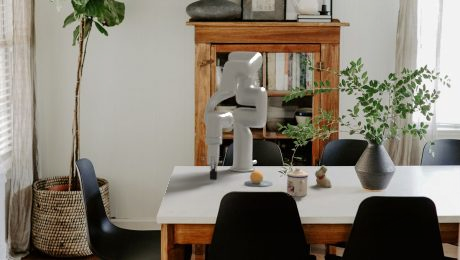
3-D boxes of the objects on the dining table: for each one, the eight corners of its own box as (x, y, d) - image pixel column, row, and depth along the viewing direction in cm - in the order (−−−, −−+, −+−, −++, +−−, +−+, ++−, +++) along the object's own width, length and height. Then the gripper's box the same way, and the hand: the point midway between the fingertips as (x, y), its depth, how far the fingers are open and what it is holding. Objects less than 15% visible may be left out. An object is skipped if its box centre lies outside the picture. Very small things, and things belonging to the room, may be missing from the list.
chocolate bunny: (324, 183, 322) (324, 162, 320) (332, 187, 314) (333, 165, 313) (313, 184, 320) (314, 163, 318) (322, 188, 312) (323, 166, 311)
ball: (250, 176, 323) (261, 169, 322) (256, 187, 321) (267, 180, 320) (246, 174, 318) (256, 167, 317) (251, 184, 316) (262, 177, 314)
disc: (255, 179, 329) (255, 178, 329) (278, 183, 321) (278, 182, 321) (238, 183, 318) (239, 183, 318) (262, 188, 311) (262, 187, 310)
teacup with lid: (283, 192, 303) (283, 166, 301) (302, 191, 305) (303, 165, 304) (294, 199, 291) (294, 171, 290) (313, 197, 294) (314, 170, 292)
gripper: (206, 137, 325) (206, 176, 327) (204, 142, 310) (204, 182, 313) (222, 138, 325) (222, 176, 327) (221, 143, 310) (220, 183, 312)
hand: (213, 179), depth 320 cm, fingers closed
